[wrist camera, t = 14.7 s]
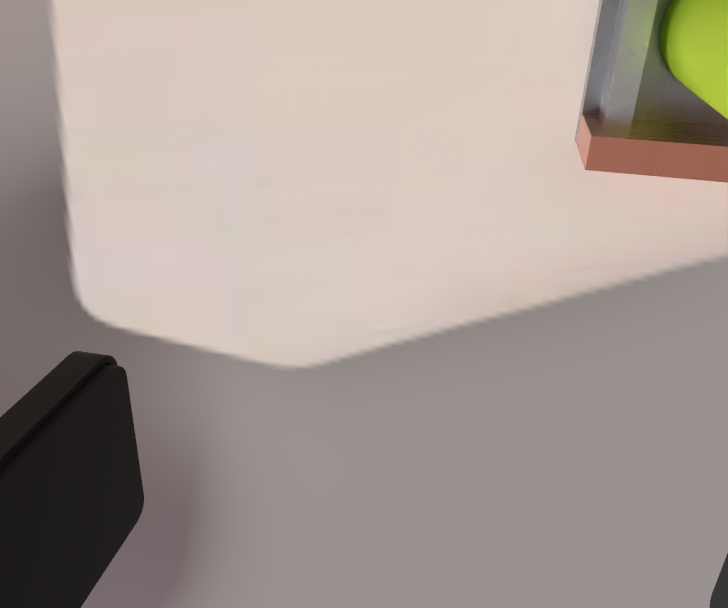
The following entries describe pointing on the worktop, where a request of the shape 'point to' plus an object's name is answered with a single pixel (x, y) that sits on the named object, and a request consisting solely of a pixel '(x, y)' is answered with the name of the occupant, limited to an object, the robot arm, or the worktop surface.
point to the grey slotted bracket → (644, 103)
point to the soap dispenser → (698, 48)
